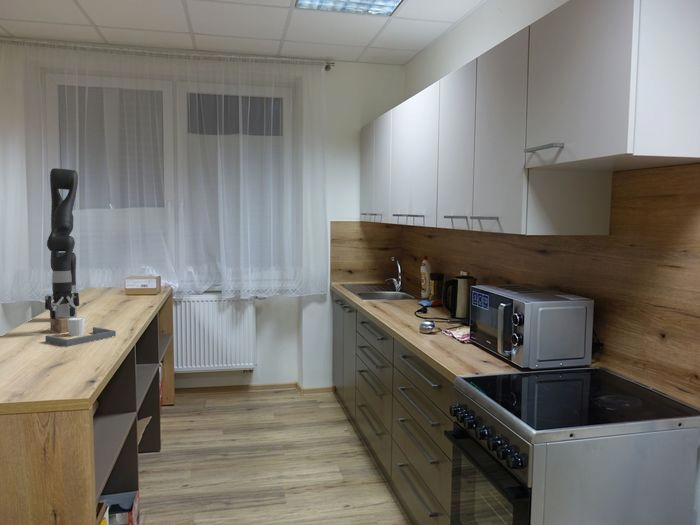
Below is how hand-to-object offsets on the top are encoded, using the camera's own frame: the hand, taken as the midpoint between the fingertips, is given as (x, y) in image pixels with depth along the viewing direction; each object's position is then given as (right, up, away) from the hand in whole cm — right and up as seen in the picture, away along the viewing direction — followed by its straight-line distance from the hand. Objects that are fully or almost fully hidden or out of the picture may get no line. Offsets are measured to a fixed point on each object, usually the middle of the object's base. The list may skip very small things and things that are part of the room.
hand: (62, 317), depth 234 cm
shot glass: (+8, -7, -4) cm, 12 cm away
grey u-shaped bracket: (+14, -8, -12) cm, 20 cm away
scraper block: (-2, -6, +1) cm, 7 cm away
